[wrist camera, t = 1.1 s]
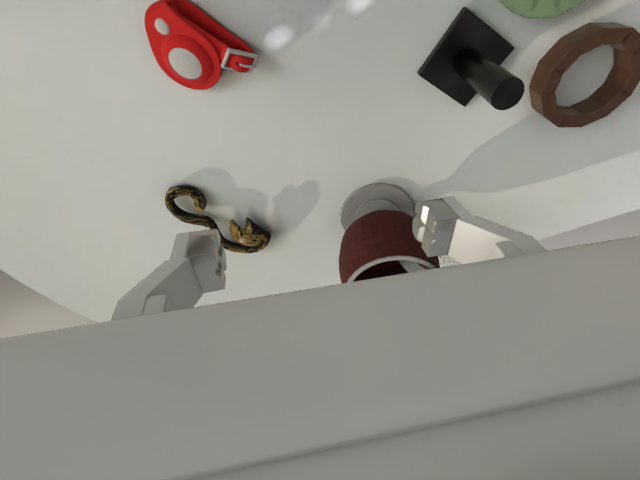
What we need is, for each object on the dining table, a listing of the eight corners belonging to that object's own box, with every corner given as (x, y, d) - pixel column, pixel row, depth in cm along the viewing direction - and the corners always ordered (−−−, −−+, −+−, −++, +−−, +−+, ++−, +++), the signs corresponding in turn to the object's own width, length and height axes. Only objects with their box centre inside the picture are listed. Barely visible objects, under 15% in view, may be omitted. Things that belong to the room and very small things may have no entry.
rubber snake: (150, 212, 50) (196, 175, 47) (158, 195, 54) (202, 160, 51) (235, 274, 61) (278, 248, 57) (237, 257, 64) (278, 231, 61)
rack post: (463, 6, 38) (514, 27, 28) (511, 46, 40) (572, 77, 31) (416, 72, 42) (446, 110, 33) (462, 104, 45) (502, 147, 35)
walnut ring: (593, 1, 37) (612, 5, 35) (647, 56, 41) (667, 63, 39) (511, 91, 44) (522, 100, 41) (564, 132, 48) (577, 142, 45)
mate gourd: (372, 255, 64) (389, 350, 49) (319, 216, 57) (319, 311, 42) (441, 206, 56) (487, 300, 41) (389, 155, 50) (419, 244, 35)
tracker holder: (183, 104, 44) (119, 28, 36) (194, 84, 46) (135, 8, 38) (261, 78, 39) (207, -16, 31) (269, 57, 41) (220, -36, 34)
